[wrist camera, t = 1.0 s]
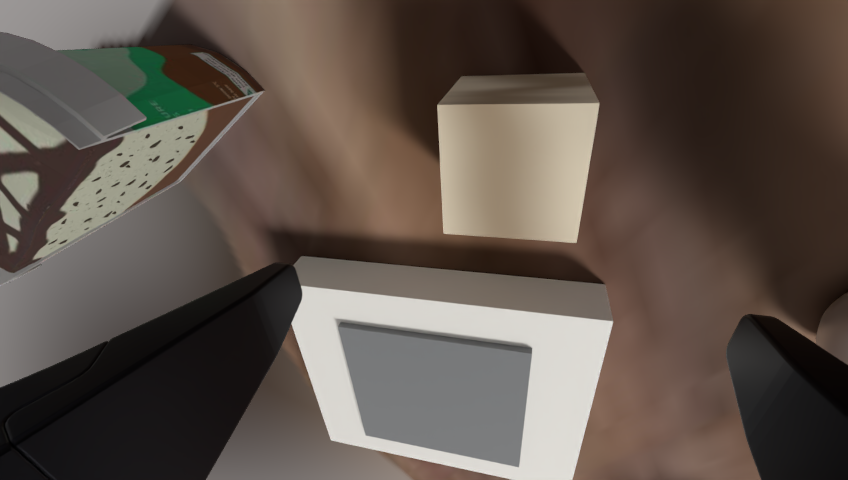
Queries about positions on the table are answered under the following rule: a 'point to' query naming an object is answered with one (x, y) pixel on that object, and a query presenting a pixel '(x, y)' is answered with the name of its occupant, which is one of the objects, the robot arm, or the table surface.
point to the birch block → (516, 155)
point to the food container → (101, 135)
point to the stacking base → (453, 363)
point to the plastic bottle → (835, 329)
